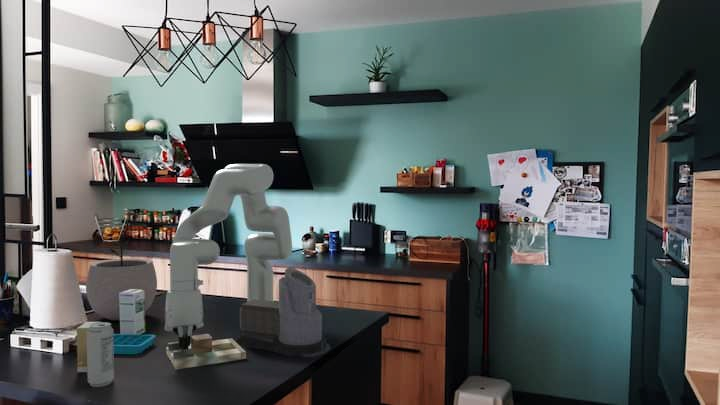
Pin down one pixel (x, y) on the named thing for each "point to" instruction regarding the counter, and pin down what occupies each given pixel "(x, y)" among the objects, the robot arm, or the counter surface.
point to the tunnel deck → (205, 354)
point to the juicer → (285, 319)
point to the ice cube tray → (131, 343)
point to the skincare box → (82, 346)
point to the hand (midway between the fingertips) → (184, 349)
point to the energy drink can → (100, 354)
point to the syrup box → (132, 311)
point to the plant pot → (119, 283)
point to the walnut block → (201, 343)
